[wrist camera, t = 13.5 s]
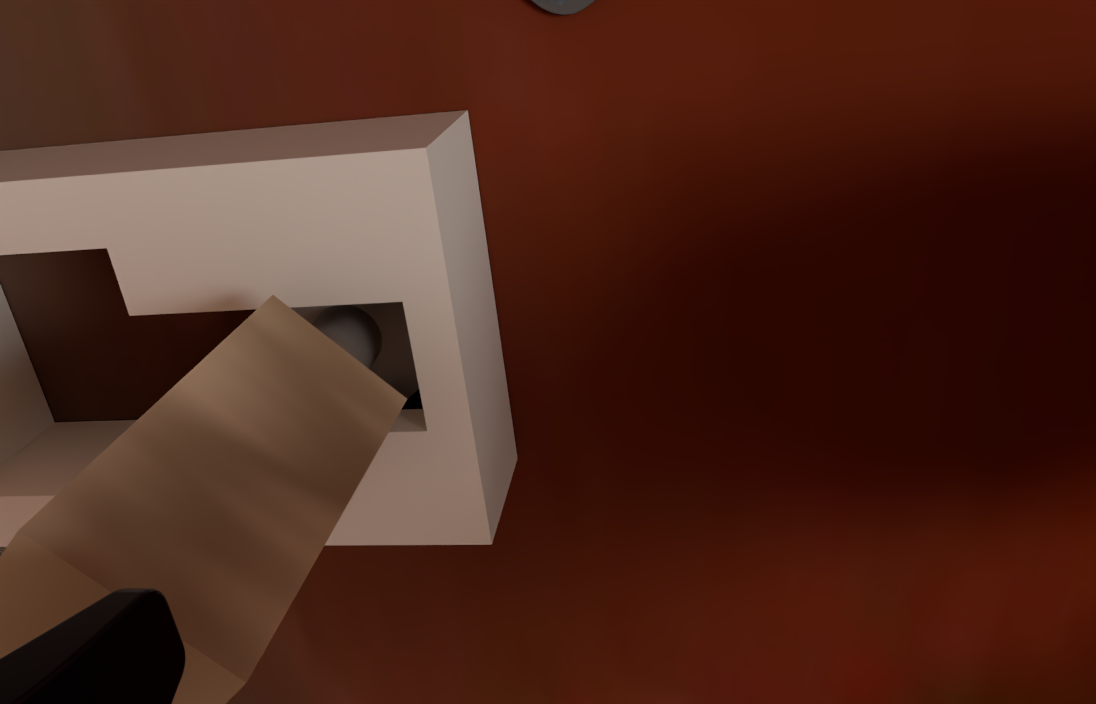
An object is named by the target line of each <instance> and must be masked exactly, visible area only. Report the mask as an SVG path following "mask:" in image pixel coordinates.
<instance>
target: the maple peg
mask: <svg viewBox="0 0 1096 704" xmlns="http://www.w3.org/2000/svg"><path fill="white" fill-rule="evenodd" d="M418 388H419V385H418V380H417V375H416V369H415V364H414V359H413V354H412V348H411V343H410V338H409V333H408V328H407V322H406V317H405V312H404V307H403V302H388V303H368V304H349V305H329V306H310V307H291V308H290V307H288V306H287V305H286V304H284V303H283V302H282V301H281V300H279V299H278V298H277V297H275V296H274V295H272V296H271V297H270V298H269V299H268V300H267V301H265V302H264V303H263V304H262V305H261V306H260V307H259V308H258V309H257V310H256V311H255V312H254V313H252V314H251V315H250V316H249V317H248V318H247V319H246V320H245V321H244V322H243V323H242V324H241V325H239V326H238V327H237V328H236V329H235V330H234V331H233V332H232V333H231V334H230V335H229V336H228V337H227V338H225V339H224V340H223V341H222V342H221V343H220V344H219V345H218V346H217V347H216V348H215V349H214V350H212V351H211V352H210V353H209V354H208V355H207V356H206V357H205V358H204V359H203V360H202V361H201V362H200V363H198V364H197V365H196V366H195V367H194V368H193V369H192V370H191V371H190V372H189V373H188V374H187V375H185V376H184V377H183V378H182V379H181V380H180V381H179V382H178V383H177V384H176V385H175V386H174V387H173V388H171V389H170V390H169V391H168V392H167V393H166V394H165V395H164V396H163V397H162V398H161V399H160V400H158V401H157V402H156V403H155V404H154V405H153V406H152V407H151V408H150V409H149V410H148V411H147V412H146V413H144V414H143V415H142V416H141V417H140V418H139V419H138V420H137V421H136V422H135V423H134V424H133V425H131V426H130V427H129V428H128V429H127V430H126V431H125V432H124V433H123V434H122V435H121V436H120V437H118V438H117V439H116V440H115V441H114V442H113V443H112V444H111V445H110V446H109V447H108V448H107V449H106V450H104V451H103V452H102V453H101V454H100V455H99V456H98V457H97V458H96V459H95V460H94V461H93V462H91V463H90V464H89V465H88V466H87V467H86V468H85V469H84V470H83V471H82V472H81V473H80V474H79V475H77V476H76V477H75V478H74V479H73V480H72V481H71V482H70V483H69V484H68V485H67V486H66V487H64V488H63V489H62V490H61V491H60V492H59V493H58V494H57V495H56V496H55V497H54V498H53V499H52V500H50V501H49V502H48V503H47V504H46V505H45V506H44V507H43V508H42V509H41V510H40V511H39V512H37V513H36V514H35V515H34V516H33V517H32V518H31V519H30V520H29V521H28V522H27V523H26V524H25V525H23V526H22V527H21V528H20V529H19V530H18V531H17V533H16V534H15V536H14V537H13V539H12V540H11V542H10V543H9V544H8V546H7V547H6V549H5V550H4V552H3V553H2V555H1V556H0V658H2V657H4V656H6V655H7V654H9V653H11V652H12V651H14V650H16V649H17V648H19V647H21V646H22V645H24V644H26V643H27V642H29V641H31V640H33V639H34V638H36V637H38V636H39V635H41V634H43V633H44V632H46V631H48V630H49V629H51V628H53V627H54V626H56V625H58V624H60V623H61V622H63V621H65V620H66V619H68V618H70V617H71V616H73V615H75V614H76V613H78V612H80V611H81V610H83V609H85V608H86V607H88V606H90V605H92V604H93V603H95V602H97V601H98V600H100V599H102V598H103V597H105V596H107V595H108V594H110V593H112V592H114V591H116V590H118V589H123V588H154V589H157V590H159V591H160V592H162V593H163V594H164V595H165V597H166V599H167V602H168V604H169V607H170V610H171V612H172V615H173V618H174V620H175V623H176V626H177V628H178V631H179V634H180V636H181V639H182V642H183V645H184V648H185V656H186V657H185V667H184V672H183V675H182V678H181V681H180V683H179V686H178V688H177V691H176V694H175V696H174V699H173V701H172V704H226V703H227V702H228V701H229V700H230V699H231V698H232V697H233V696H234V695H235V694H236V693H237V692H238V691H239V690H240V689H241V688H242V687H243V686H244V685H245V684H246V683H247V681H248V679H249V678H250V676H251V674H252V672H253V671H254V669H255V667H256V665H257V663H258V662H259V660H260V658H261V656H262V655H263V653H264V651H265V649H266V648H267V646H268V644H269V642H270V641H271V639H272V637H273V635H274V633H275V632H276V630H277V628H278V626H279V625H280V623H281V621H282V619H283V618H284V616H285V614H286V612H287V611H288V609H289V607H290V605H291V603H292V602H293V600H294V598H295V596H296V595H297V593H298V591H299V589H300V588H301V586H302V584H303V582H304V581H305V579H306V577H307V575H308V573H309V572H310V570H311V568H312V566H313V565H314V563H315V561H316V559H317V558H318V556H319V554H320V552H321V551H322V549H323V547H324V545H325V543H326V542H327V540H328V538H329V536H330V535H331V533H332V531H333V529H334V528H335V526H336V524H337V522H338V521H339V519H340V517H341V515H342V514H343V512H344V510H345V508H346V506H347V505H348V503H349V501H350V499H351V498H352V496H353V494H354V492H355V491H356V489H357V487H358V485H359V484H360V482H361V480H362V478H363V476H364V475H365V473H366V471H367V469H368V468H369V466H370V464H371V462H372V461H373V459H374V457H375V455H376V454H377V452H378V450H379V448H380V446H381V445H382V443H383V441H384V439H385V438H386V436H387V434H388V432H389V431H390V429H391V427H392V425H393V424H394V422H395V420H396V418H397V416H398V415H399V413H400V411H401V409H402V408H403V406H404V404H405V402H406V401H407V399H408V398H409V397H410V396H412V395H413V394H414V393H415V392H416V391H417V390H418Z"/></svg>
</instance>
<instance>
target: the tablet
mask: <svg viewBox="0 0 1096 704" xmlns="http://www.w3.org/2000/svg"><path fill="white" fill-rule="evenodd" d="M532 1H533V2H534V3H535V4H537V5H538V6H539V7H541V8H543V9H545V10H547V11H549V12H551V13H555V14H561V15H567V14H574V13H576V12H578V11H580V10H582V9H584V8H585V7H587V6H588V5H589V4H591V3H592V2H593V1H595V0H532Z"/></svg>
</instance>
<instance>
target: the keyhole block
mask: <svg viewBox="0 0 1096 704" xmlns="http://www.w3.org/2000/svg"><path fill="white" fill-rule="evenodd" d="M102 248H107V250H108V253H109V256H110V259H111V262H112V265H113V268H114V271H115V274H116V277H117V280H118V283H119V286H120V289H121V292H122V295H123V298H124V301H125V304H126V307H127V310H128V313H129V316H135V315H155V314H174V313H194V312H213V311H232V310H252V309H258V308H259V307H260V306H261V305H262V304H263V303H264V302H265V301H267V300H268V299H269V298H270V297H271V296H272V295H274V296H275V297H277V298H278V299H279V300H281V301H282V302H283V303H284V304H286V305H287V306H288V307H290V308H291V307H310V306H329V305H349V304H368V303H388V302H403V307H404V312H405V317H406V322H407V328H408V333H409V338H410V343H411V348H412V354H413V359H414V364H415V369H416V375H417V380H418V385H419V390H420V396H421V401H422V406H423V409H404V410H401V411H400V413H399V415H398V416H397V418H396V420H395V422H394V424H393V425H392V427H391V429H390V431H389V432H388V434H387V436H386V438H385V439H384V441H383V443H382V445H381V446H380V448H379V450H378V452H377V454H376V455H375V457H374V459H373V461H372V462H371V464H370V466H369V468H368V469H367V471H366V473H365V475H364V476H363V478H362V480H361V482H360V484H359V485H358V487H357V489H356V491H355V492H354V494H353V496H352V498H351V499H350V501H349V503H348V505H347V506H346V508H345V510H344V512H343V514H342V515H341V517H340V519H339V521H338V522H337V524H336V526H335V528H334V529H333V531H332V533H331V535H330V536H329V538H328V540H327V542H326V543H325V545H492V542H493V539H494V536H495V532H496V529H497V526H498V522H499V519H500V515H501V512H502V509H503V505H504V502H505V499H506V495H507V492H508V489H509V485H510V482H511V479H512V475H513V472H514V469H515V465H516V462H517V459H518V458H517V451H516V444H515V437H514V430H513V423H512V416H511V409H510V402H509V395H508V388H507V381H506V374H505V367H504V361H503V354H502V347H501V340H500V333H499V326H498V319H497V312H496V305H495V298H494V291H493V284H492V277H491V270H490V263H489V256H488V249H487V242H486V235H485V228H484V221H483V214H482V207H481V200H480V193H479V186H478V179H477V172H476V165H475V158H474V151H473V144H472V137H471V130H470V123H469V116H468V110H464V111H452V112H441V113H430V114H418V115H407V116H395V117H384V118H372V119H361V120H350V121H338V122H327V123H315V124H304V125H292V126H281V127H270V128H258V129H247V130H235V131H224V132H212V133H201V134H190V135H178V136H167V137H155V138H144V139H132V140H121V141H110V142H98V143H87V144H75V145H64V146H52V147H41V148H29V149H18V150H7V151H0V255H10V254H26V253H41V252H56V251H71V250H87V249H102ZM136 421H137V420H115V421H82V422H54V419H53V416H52V414H51V411H50V409H49V406H48V404H47V401H46V399H45V396H44V394H43V391H42V389H41V386H40V384H39V381H38V378H37V376H36V373H35V371H34V368H33V366H32V363H31V361H30V358H29V356H28V353H27V351H26V348H25V346H24V343H23V340H22V338H21V335H20V333H19V330H18V328H17V325H16V323H15V320H14V318H13V315H12V313H11V310H10V308H9V305H8V303H7V300H6V297H5V295H4V292H3V290H2V287H1V285H0V547H7V546H8V544H9V543H10V542H11V540H12V539H13V537H14V536H15V534H16V533H17V531H18V530H19V529H20V528H21V527H22V526H23V525H25V524H26V523H27V522H28V521H29V520H30V519H31V518H32V517H33V516H34V515H35V514H36V513H37V512H39V511H40V510H41V509H42V508H43V507H44V506H45V505H46V504H47V503H48V502H49V501H50V500H52V499H53V498H54V497H55V496H56V495H57V494H58V493H59V492H60V491H61V490H62V489H63V488H64V487H66V486H67V485H68V484H69V483H70V482H71V481H72V480H73V479H74V478H75V477H76V476H77V475H79V474H80V473H81V472H82V471H83V470H84V469H85V468H86V467H87V466H88V465H89V464H90V463H91V462H93V461H94V460H95V459H96V458H97V457H98V456H99V455H100V454H101V453H102V452H103V451H104V450H106V449H107V448H108V447H109V446H110V445H111V444H112V443H113V442H114V441H115V440H116V439H117V438H118V437H120V436H121V435H122V434H123V433H124V432H125V431H126V430H127V429H128V428H129V427H130V426H131V425H133V424H134V423H135V422H136Z"/></svg>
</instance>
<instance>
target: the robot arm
mask: <svg viewBox="0 0 1096 704" xmlns="http://www.w3.org/2000/svg"><path fill="white" fill-rule="evenodd" d="M185 657H186V656H185V648H184V645H183V642H182V639H181V636H180V634H179V631H178V628H177V626H176V623H175V620H174V618H173V615H172V612H171V610H170V607H169V604H168V602H167V599H166V597H165V595H164V594H163V593H162V592H160V591H159V590H157V589H154V588H123V589H118V590H116V591H114V592H112V593H110V594H108V595H107V596H105V597H103V598H102V599H100V600H98V601H97V602H95V603H93V604H92V605H90V606H88V607H86V608H85V609H83V610H81V611H80V612H78V613H76V614H75V615H73V616H71V617H70V618H68V619H66V620H65V621H63V622H61V623H60V624H58V625H56V626H54V627H53V628H51V629H49V630H48V631H46V632H44V633H43V634H41V635H39V636H38V637H36V638H34V639H33V640H31V641H29V642H27V643H26V644H24V645H22V646H21V647H19V648H17V649H16V650H14V651H12V652H11V653H9V654H7V655H6V656H4V657H2V658H0V704H172V701H173V699H174V696H175V694H176V691H177V688H178V686H179V683H180V681H181V678H182V675H183V672H184V667H185Z"/></svg>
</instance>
